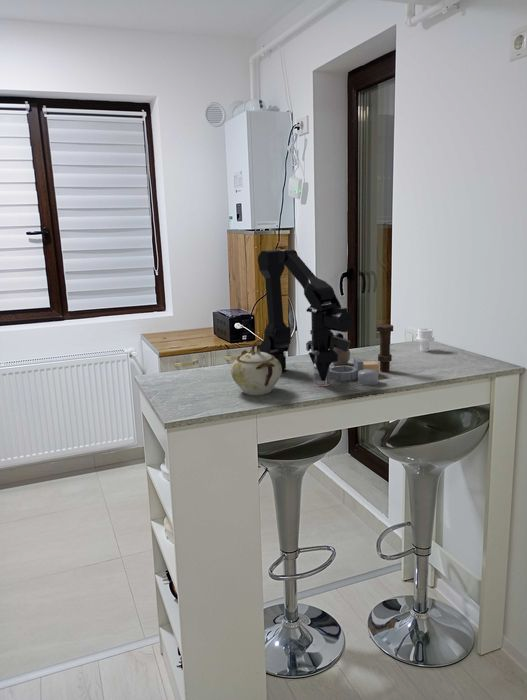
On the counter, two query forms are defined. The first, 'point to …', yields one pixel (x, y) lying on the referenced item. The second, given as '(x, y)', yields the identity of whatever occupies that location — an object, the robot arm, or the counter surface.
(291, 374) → the counter surface
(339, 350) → the vase
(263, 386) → the sugar bowl
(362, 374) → the grey rounded lump
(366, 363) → the octagonal ring stamp
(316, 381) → the pill bottle
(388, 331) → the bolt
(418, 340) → the pipe fitting
